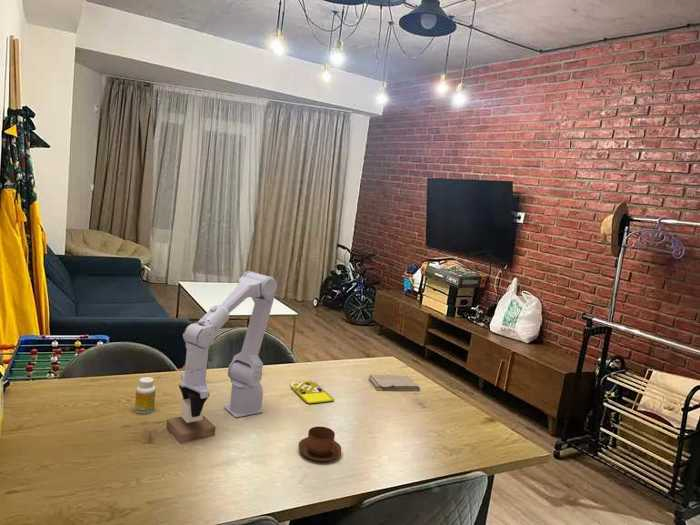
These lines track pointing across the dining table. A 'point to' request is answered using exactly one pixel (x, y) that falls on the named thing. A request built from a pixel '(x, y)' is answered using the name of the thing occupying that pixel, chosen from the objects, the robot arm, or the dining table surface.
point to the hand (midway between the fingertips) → (192, 412)
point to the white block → (189, 412)
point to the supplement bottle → (145, 396)
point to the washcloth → (393, 383)
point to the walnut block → (190, 429)
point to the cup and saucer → (320, 444)
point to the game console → (311, 393)
